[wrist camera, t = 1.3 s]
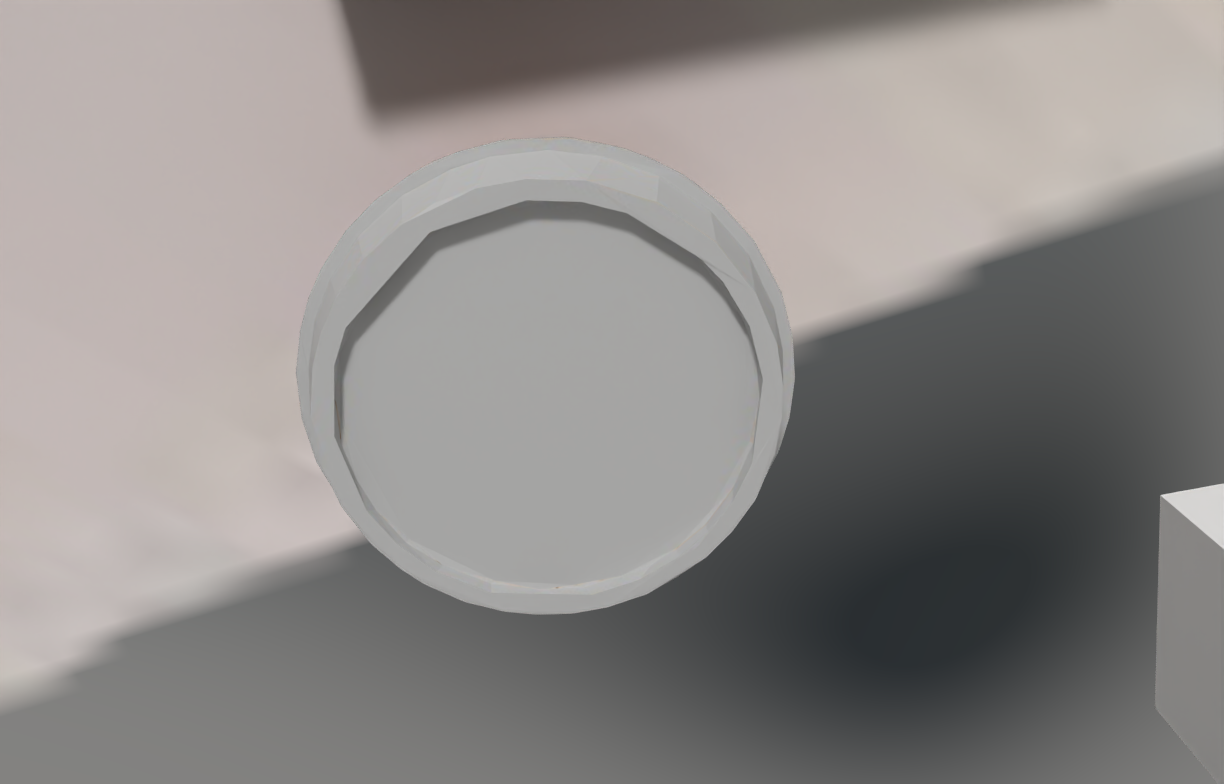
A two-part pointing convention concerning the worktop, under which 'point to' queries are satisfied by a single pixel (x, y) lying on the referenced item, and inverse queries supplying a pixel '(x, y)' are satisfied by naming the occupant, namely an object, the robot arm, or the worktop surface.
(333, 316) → the disposable coffee cup
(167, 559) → the worktop surface
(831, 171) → the worktop surface
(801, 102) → the worktop surface
